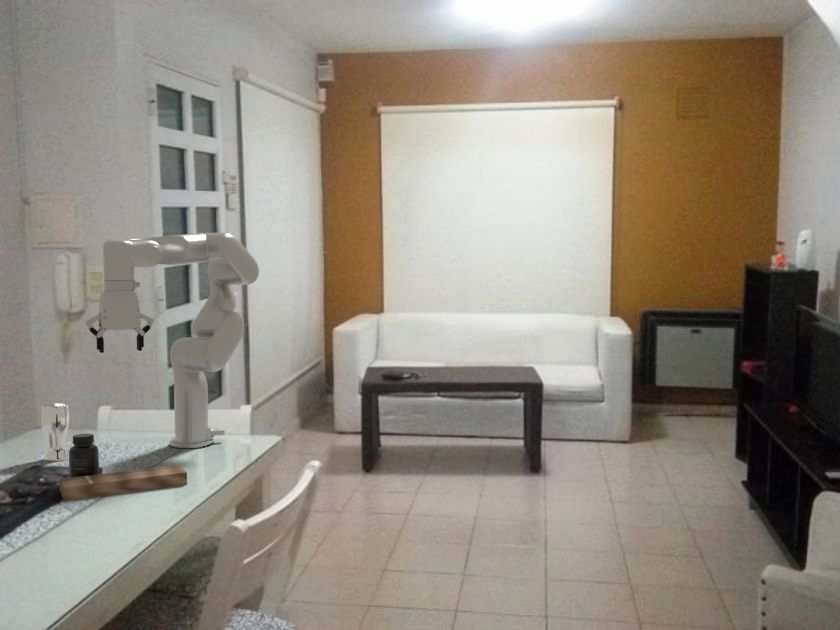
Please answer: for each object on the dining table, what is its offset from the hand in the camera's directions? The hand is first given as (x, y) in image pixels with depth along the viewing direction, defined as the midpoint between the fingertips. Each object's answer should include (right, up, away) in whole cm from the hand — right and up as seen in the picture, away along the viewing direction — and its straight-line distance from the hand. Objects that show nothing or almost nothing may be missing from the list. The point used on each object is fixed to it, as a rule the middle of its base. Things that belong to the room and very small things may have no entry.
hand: (120, 351), depth 224 cm
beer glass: (-20, -30, +7) cm, 37 cm away
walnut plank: (+8, -32, -20) cm, 39 cm away
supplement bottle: (-3, -32, -17) cm, 36 cm away
